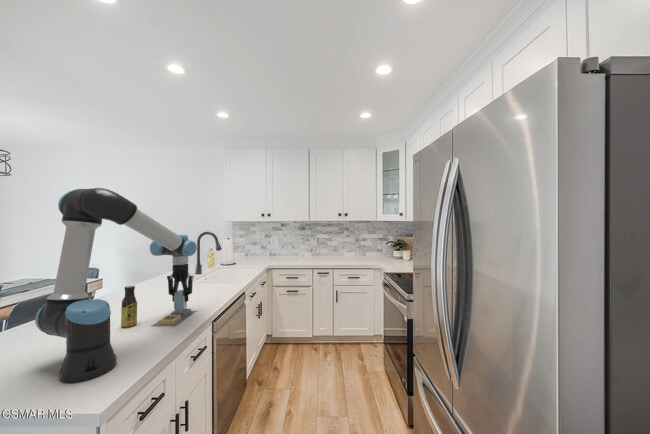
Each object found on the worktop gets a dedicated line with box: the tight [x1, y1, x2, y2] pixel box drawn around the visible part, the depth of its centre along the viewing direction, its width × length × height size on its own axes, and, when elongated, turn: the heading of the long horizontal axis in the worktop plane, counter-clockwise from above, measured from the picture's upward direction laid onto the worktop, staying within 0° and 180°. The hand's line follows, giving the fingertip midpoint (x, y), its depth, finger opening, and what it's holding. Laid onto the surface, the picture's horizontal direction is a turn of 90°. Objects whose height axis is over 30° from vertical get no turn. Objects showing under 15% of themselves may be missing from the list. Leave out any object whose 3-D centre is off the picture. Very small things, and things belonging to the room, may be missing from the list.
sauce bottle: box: [120, 285, 138, 329], centre depth 134 cm, size 6×6×20 cm
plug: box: [174, 289, 187, 313], centre depth 148 cm, size 4×4×12 cm
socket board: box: [150, 308, 198, 328], centre depth 143 cm, size 22×12×3 cm, turn 179°
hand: (180, 307), depth 148 cm, fingers closed on plug, 4 cm apart
